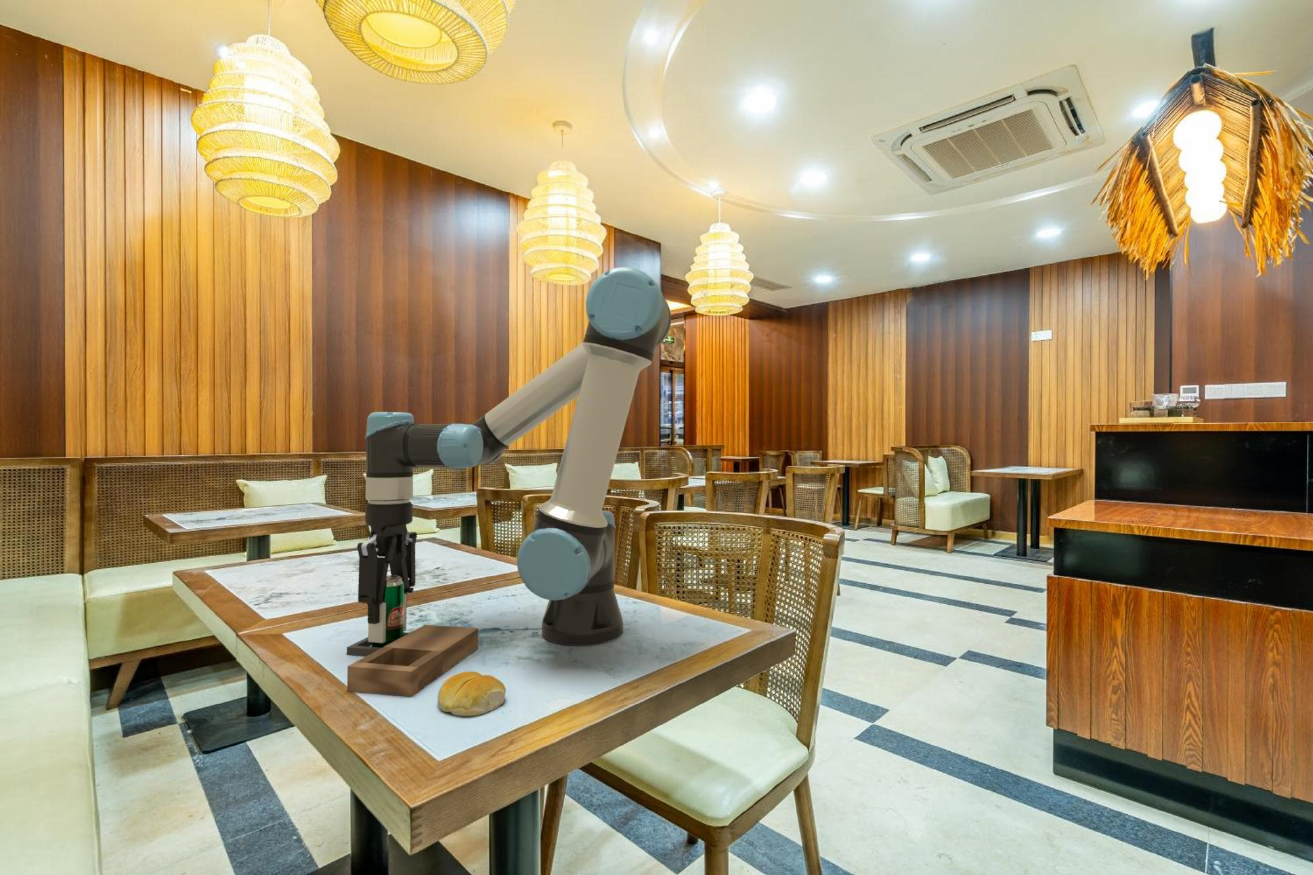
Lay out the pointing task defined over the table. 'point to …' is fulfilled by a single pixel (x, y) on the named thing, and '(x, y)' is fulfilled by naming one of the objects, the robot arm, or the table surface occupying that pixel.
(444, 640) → the caddy
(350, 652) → the dark square frame
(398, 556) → the robot arm
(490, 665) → the table surface
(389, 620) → the soda can
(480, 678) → the bread roll
